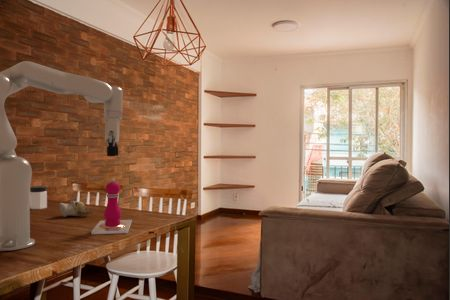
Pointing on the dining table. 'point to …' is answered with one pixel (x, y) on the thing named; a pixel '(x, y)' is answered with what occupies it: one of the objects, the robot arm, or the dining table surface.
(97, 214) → the dining table surface
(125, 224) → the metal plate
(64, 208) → the ceramic sculpture
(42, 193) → the jar
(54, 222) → the dining table surface
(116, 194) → the pepper mill
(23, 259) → the dining table surface
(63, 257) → the dining table surface
